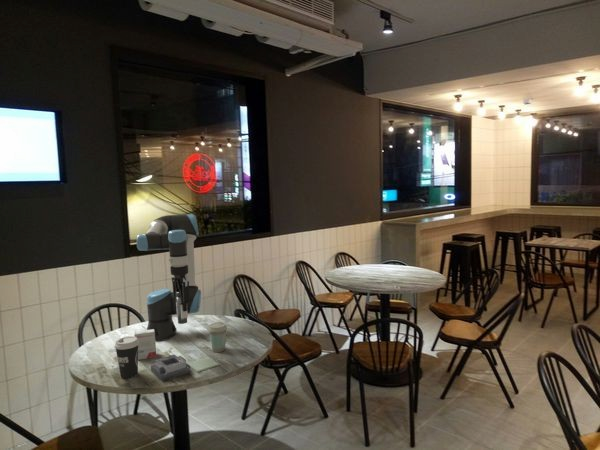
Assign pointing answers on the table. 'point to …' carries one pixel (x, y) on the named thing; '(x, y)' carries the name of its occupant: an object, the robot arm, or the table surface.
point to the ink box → (146, 344)
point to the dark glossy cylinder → (179, 309)
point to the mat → (202, 364)
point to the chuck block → (170, 367)
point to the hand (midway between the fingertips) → (182, 316)
